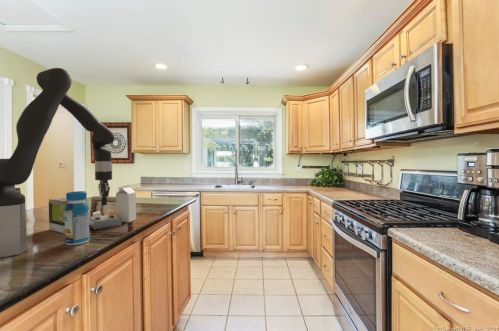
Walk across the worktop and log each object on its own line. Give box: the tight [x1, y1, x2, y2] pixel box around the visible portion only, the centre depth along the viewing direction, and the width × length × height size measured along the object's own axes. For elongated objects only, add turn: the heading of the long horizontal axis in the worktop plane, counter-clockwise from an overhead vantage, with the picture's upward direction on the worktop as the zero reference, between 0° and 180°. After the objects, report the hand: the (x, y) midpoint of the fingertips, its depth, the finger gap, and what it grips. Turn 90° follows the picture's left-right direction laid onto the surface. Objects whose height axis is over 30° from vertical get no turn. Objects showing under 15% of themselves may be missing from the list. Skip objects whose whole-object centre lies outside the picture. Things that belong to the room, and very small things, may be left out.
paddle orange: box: [106, 209, 116, 215], centre depth 134 cm, size 4×3×2 cm
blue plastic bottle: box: [64, 190, 91, 246], centre depth 104 cm, size 8×8×20 cm
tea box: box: [48, 196, 87, 234], centre depth 124 cm, size 15×10×15 cm, turn 58°
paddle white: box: [92, 210, 103, 218], centre depth 130 cm, size 4×3×2 cm
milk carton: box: [115, 184, 137, 223], centre depth 141 cm, size 7×7×19 cm
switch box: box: [89, 214, 122, 231], centre depth 132 cm, size 14×12×4 cm
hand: (104, 205), depth 132 cm, fingers closed
